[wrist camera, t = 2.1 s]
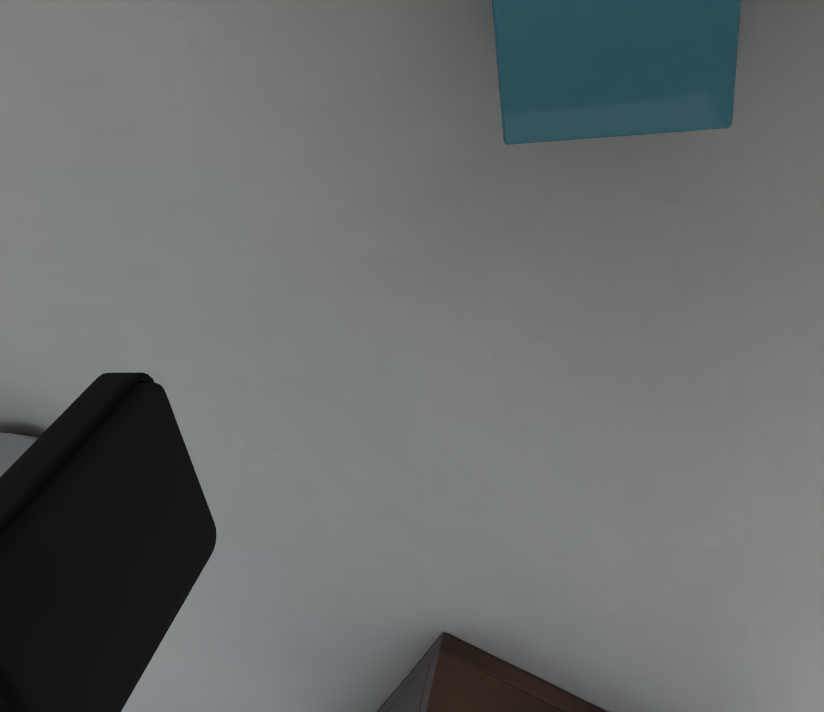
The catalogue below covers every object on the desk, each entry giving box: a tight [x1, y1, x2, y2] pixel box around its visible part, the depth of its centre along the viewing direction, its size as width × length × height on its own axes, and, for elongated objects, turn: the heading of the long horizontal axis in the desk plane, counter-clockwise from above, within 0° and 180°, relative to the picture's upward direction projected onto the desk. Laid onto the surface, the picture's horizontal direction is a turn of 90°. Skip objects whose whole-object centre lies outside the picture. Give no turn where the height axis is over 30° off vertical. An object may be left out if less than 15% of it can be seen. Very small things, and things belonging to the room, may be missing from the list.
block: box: [492, 0, 740, 145], centre depth 17 cm, size 5×5×5 cm
